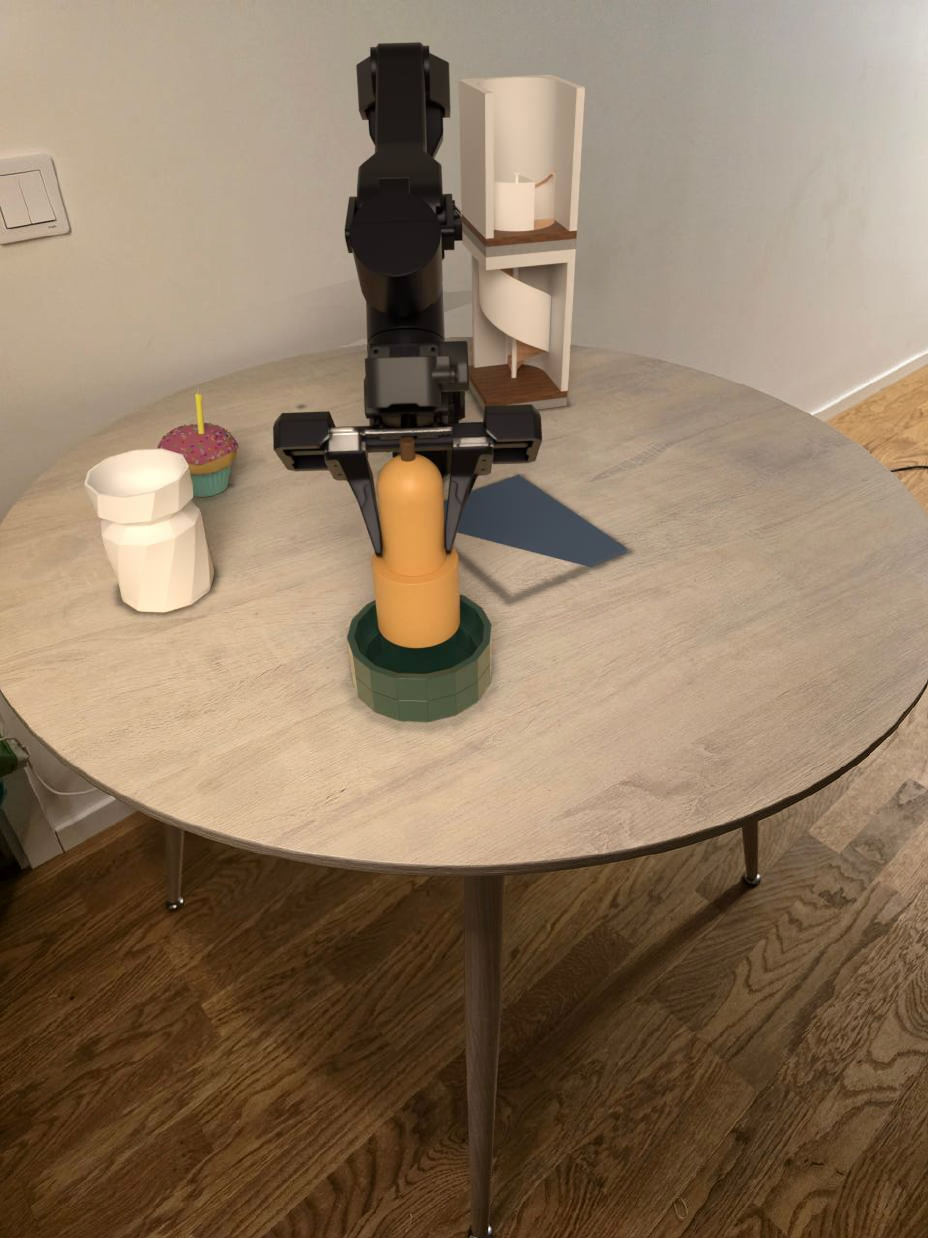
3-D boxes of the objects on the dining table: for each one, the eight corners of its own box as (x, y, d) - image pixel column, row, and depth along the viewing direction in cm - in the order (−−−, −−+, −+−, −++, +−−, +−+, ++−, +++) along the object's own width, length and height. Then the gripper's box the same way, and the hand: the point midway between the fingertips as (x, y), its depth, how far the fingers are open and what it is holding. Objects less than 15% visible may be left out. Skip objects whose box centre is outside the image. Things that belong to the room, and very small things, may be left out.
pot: (327, 699, 69) (319, 652, 66) (398, 620, 77) (394, 575, 74) (451, 744, 65) (449, 696, 62) (513, 656, 73) (514, 609, 70)
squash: (362, 633, 66) (340, 451, 56) (404, 588, 71) (390, 411, 61) (435, 657, 64) (425, 471, 54) (474, 609, 68) (471, 428, 58)
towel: (410, 515, 90) (410, 512, 90) (518, 477, 96) (518, 474, 96) (510, 601, 79) (510, 598, 78) (627, 552, 84) (627, 548, 84)
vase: (130, 624, 77) (91, 508, 70) (113, 574, 83) (76, 462, 76) (226, 595, 80) (199, 481, 73) (203, 549, 86) (176, 440, 79)
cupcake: (258, 474, 98) (239, 373, 90) (218, 512, 92) (194, 406, 84) (193, 464, 100) (169, 364, 93) (150, 500, 94) (120, 396, 87)
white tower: (465, 380, 117) (458, 79, 96) (539, 371, 119) (550, 73, 97) (486, 415, 109) (485, 93, 87) (566, 405, 111) (585, 87, 89)
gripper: (253, 297, 55) (257, 538, 53) (544, 288, 55) (557, 527, 54) (286, 366, 66) (290, 567, 65) (529, 358, 66) (539, 558, 65)
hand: (413, 555), depth 62 cm, fingers closed on squash, 4 cm apart
